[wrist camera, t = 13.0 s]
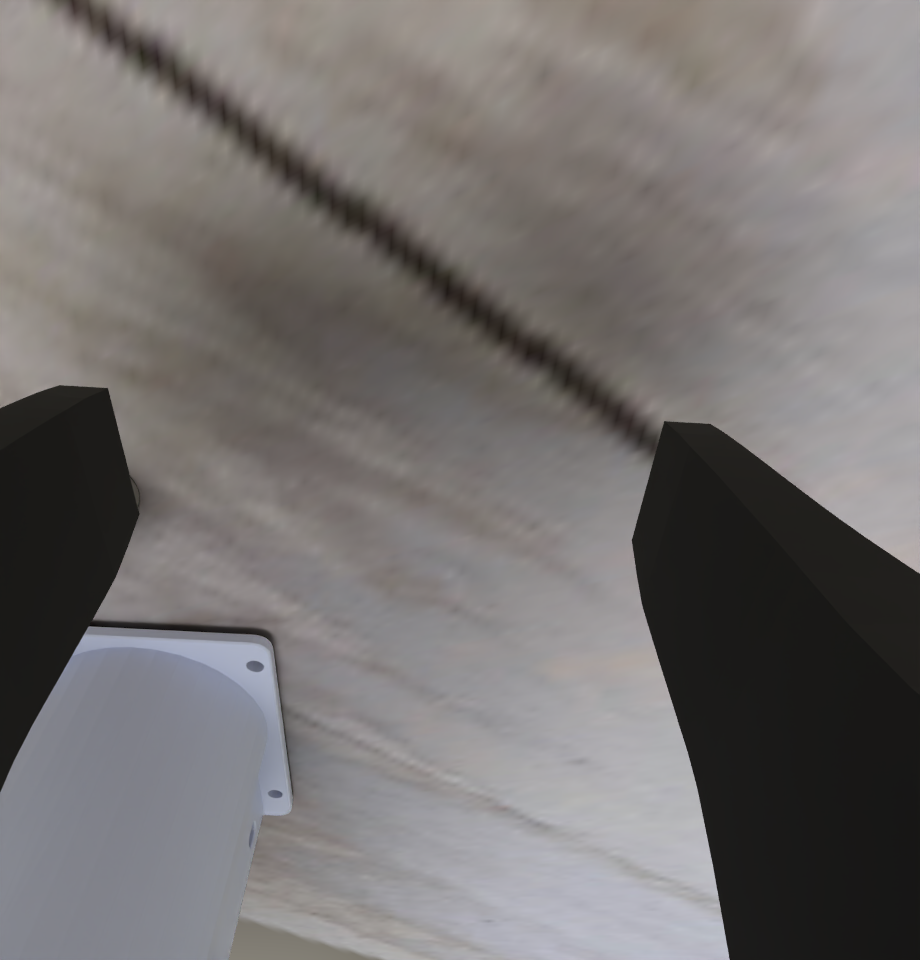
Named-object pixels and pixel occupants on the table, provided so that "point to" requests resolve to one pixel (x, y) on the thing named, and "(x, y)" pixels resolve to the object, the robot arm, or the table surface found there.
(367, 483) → the table surface
